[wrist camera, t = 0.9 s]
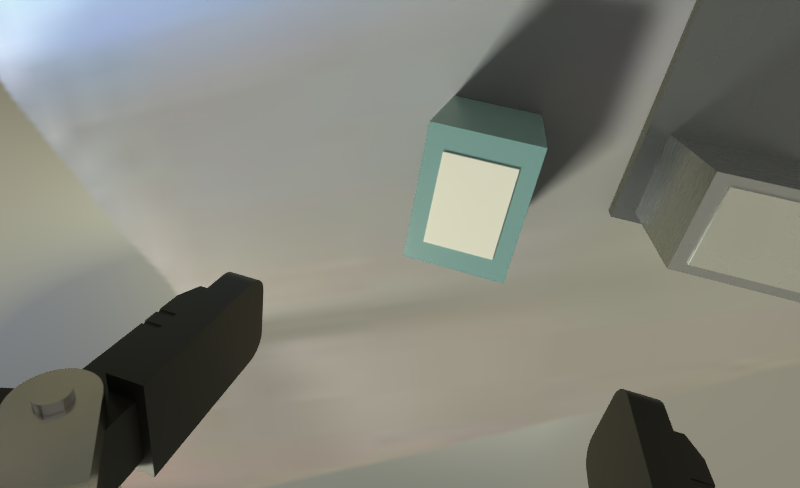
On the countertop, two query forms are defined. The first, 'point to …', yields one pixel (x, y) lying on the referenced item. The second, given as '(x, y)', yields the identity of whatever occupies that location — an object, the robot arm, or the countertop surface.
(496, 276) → the block
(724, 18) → the rail
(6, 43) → the countertop surface
